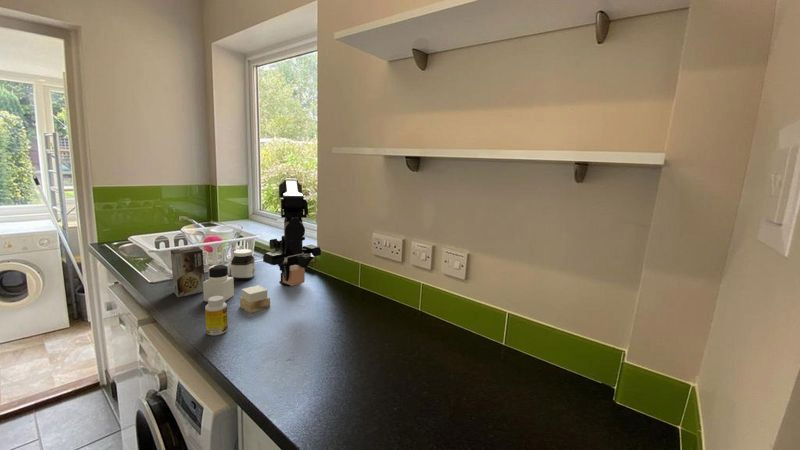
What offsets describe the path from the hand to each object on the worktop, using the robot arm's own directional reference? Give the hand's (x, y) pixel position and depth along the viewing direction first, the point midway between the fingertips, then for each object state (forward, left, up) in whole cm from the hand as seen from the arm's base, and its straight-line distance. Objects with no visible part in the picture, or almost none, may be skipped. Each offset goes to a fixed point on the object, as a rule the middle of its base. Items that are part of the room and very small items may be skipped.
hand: (293, 279), depth 116 cm
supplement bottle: (+24, -2, -11) cm, 27 cm away
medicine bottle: (+13, -26, -11) cm, 31 cm away
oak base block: (+8, -11, -11) cm, 17 cm away
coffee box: (+18, -39, -11) cm, 44 cm away
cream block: (+8, -11, -8) cm, 16 cm away
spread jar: (-3, -43, -11) cm, 45 cm away
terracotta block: (0, 0, -1) cm, 1 cm away
